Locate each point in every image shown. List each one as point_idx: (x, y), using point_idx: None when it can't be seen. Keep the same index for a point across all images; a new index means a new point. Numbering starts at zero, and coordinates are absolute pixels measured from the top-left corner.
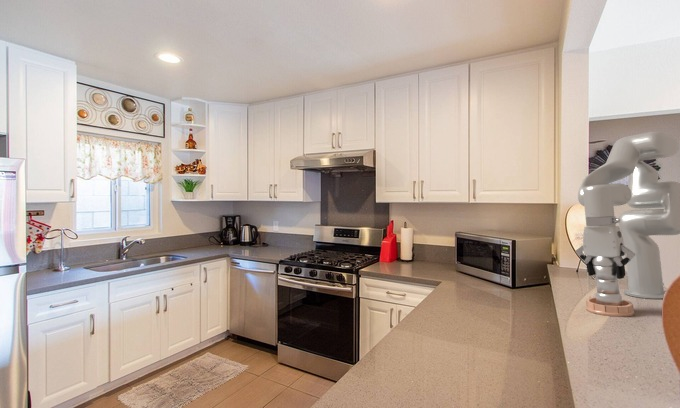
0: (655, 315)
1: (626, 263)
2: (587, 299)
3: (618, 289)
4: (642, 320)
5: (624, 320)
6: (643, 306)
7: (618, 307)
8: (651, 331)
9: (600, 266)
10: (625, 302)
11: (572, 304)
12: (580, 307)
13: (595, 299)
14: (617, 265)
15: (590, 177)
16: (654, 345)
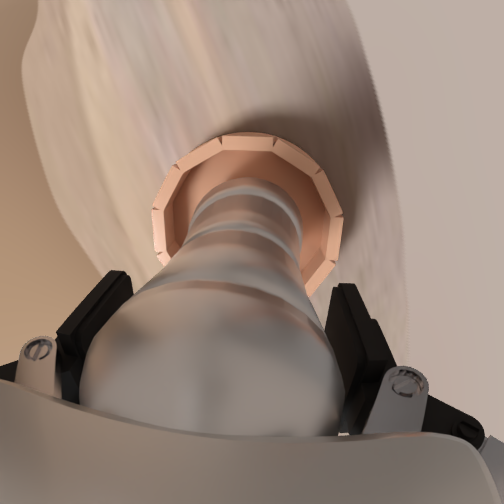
0: (392, 166)
1: (427, 404)
2: (161, 252)
3: (299, 259)
4: (372, 267)
5: (328, 305)
6: (317, 37)
7: (308, 293)
8: (398, 350)
9: None
10: (297, 167)
11: (106, 216)
12: (148, 240)
13: (171, 198)
14: (347, 421)
15: None
16: None
